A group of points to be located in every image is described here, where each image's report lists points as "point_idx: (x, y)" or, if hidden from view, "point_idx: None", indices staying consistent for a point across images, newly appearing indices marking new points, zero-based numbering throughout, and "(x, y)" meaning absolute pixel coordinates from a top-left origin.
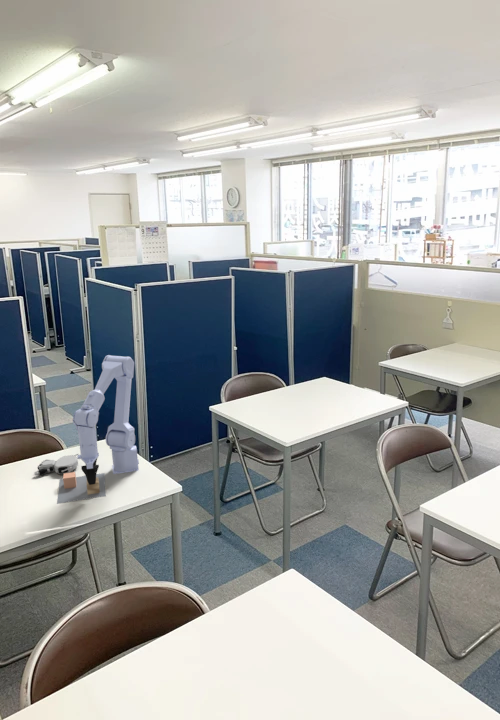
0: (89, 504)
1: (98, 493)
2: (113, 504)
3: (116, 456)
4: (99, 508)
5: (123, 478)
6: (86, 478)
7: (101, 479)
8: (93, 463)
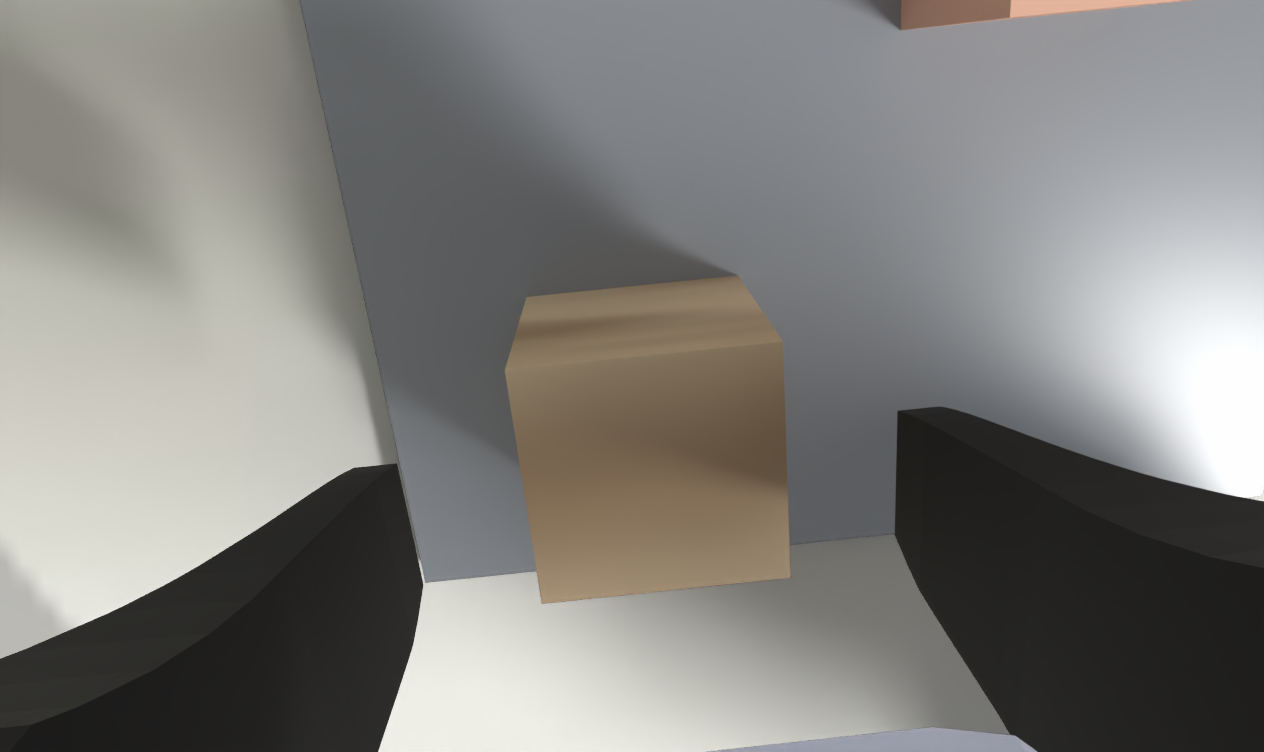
0: (233, 344)
1: None
2: None
3: None
4: (94, 506)
5: None
6: (1195, 202)
7: None
8: (1054, 730)
